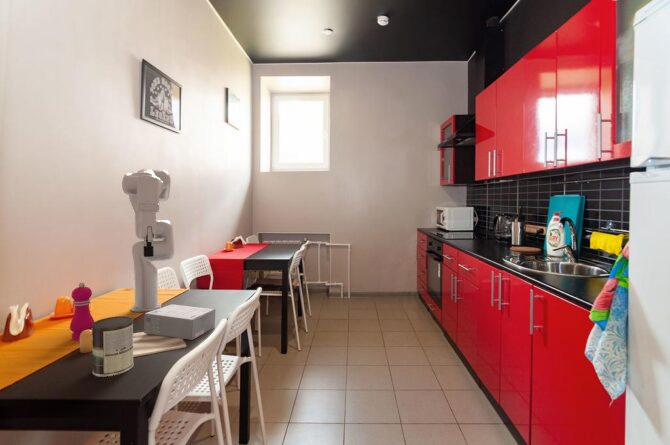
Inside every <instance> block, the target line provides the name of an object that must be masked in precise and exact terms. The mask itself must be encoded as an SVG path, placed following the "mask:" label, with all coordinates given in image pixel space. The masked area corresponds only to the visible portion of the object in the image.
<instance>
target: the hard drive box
mask: <svg viewBox="0 0 670 445" xmlns="http://www.w3.org/2000/svg"><path fill="white" fill-rule="evenodd" d="M215 326H216V308H207V307H198V306H189V305H183V304H182V305H181V304H175V303H172V304H168V305H166V306H163V307H162V306H161V308H159V309H156V310H152V311H146V312H144V322H143V332H144V333H146V334H153V335H160V336H167V337H174V338H182V339H183V340H191V341H192V340H194V339H195V340H196V338H198V337H200V336H202V335H203V334H205V333H207V332H209V331H211V330H213V329H214V328H215Z"/></svg>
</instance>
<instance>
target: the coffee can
mask: <svg viewBox="0 0 670 445" xmlns="http://www.w3.org/2000/svg"><path fill="white" fill-rule="evenodd" d="M133 326H134V318H133V317H132V316H128V315H127V316H125V315H124V316H123V315H119V316H111V317H110V316H109V317H106V318H101V319H98V320H96V321H94V323H92V329H91V330H92V345H93V351H92V375H94V376H95V377H100V378H104V377H105V378H107V376H108V377H113V375H114V376H119V375H121V374H123V373H126V372H128V371H130V370H131V369H132V368H133V367H134V357H133V333H134V327H133Z"/></svg>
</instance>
